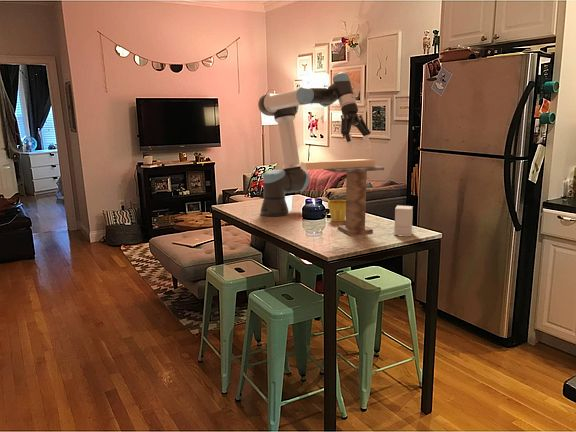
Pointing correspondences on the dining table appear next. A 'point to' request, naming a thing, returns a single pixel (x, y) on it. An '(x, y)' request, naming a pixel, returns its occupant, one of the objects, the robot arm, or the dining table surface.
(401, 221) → the supplement box
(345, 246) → the dining table surface
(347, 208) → the shelf stand
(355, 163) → the tan rectangular bar
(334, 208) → the plant pot
